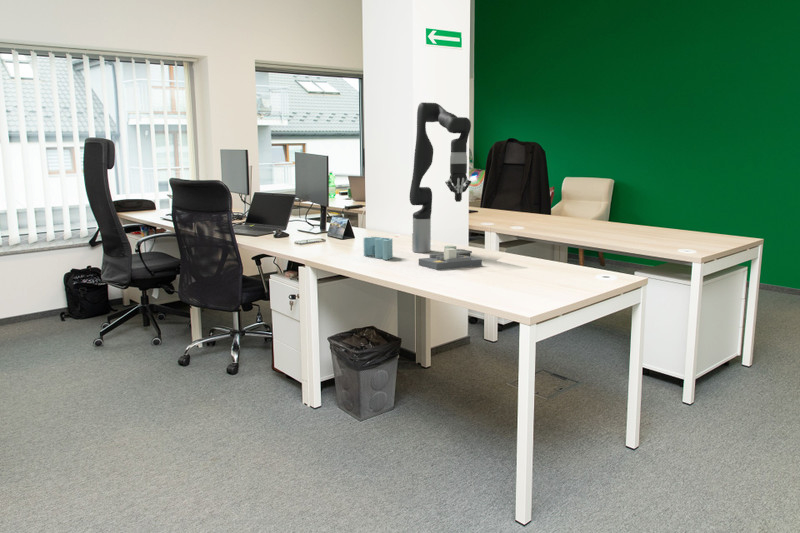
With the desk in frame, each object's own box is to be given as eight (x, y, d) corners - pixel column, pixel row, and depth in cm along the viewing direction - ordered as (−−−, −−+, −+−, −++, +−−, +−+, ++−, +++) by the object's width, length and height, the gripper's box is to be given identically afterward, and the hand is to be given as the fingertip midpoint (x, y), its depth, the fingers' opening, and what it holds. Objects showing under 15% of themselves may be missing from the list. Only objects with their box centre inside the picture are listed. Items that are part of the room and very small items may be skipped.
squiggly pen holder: (399, 257, 314) (399, 239, 313) (386, 260, 307) (386, 240, 305) (372, 254, 325) (372, 236, 324) (359, 256, 318) (359, 238, 316)
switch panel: (418, 265, 290) (418, 255, 289) (462, 261, 301) (462, 251, 300) (436, 270, 276) (436, 259, 275) (481, 265, 287) (482, 256, 286)
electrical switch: (445, 250, 311) (461, 245, 315) (447, 260, 312) (462, 255, 317) (456, 252, 303) (472, 247, 307) (458, 262, 304) (473, 258, 309)
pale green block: (444, 256, 294) (444, 245, 293) (451, 255, 296) (451, 245, 295) (448, 257, 291) (449, 246, 290) (456, 256, 292) (456, 246, 292)
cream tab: (443, 259, 283) (444, 248, 283) (451, 259, 285) (451, 248, 285) (448, 261, 280) (448, 249, 279) (456, 260, 282) (456, 249, 281)
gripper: (466, 162, 289) (465, 200, 292) (441, 162, 283) (441, 201, 286) (475, 162, 283) (475, 201, 285) (450, 162, 277) (450, 202, 279)
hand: (458, 201), depth 286 cm, fingers closed
